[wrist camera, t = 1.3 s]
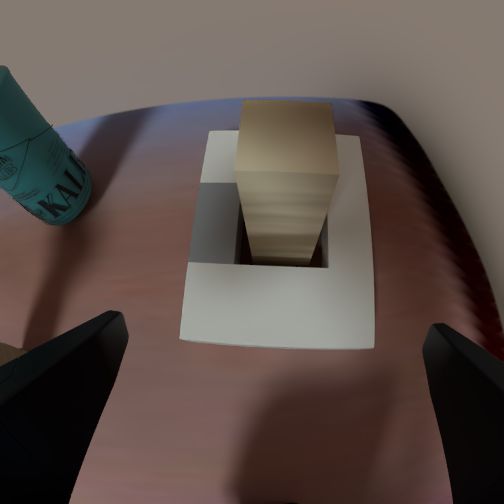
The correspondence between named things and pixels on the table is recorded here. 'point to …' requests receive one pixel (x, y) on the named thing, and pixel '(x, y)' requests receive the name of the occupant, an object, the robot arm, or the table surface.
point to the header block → (279, 267)
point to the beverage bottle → (37, 160)
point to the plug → (285, 177)
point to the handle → (9, 353)
